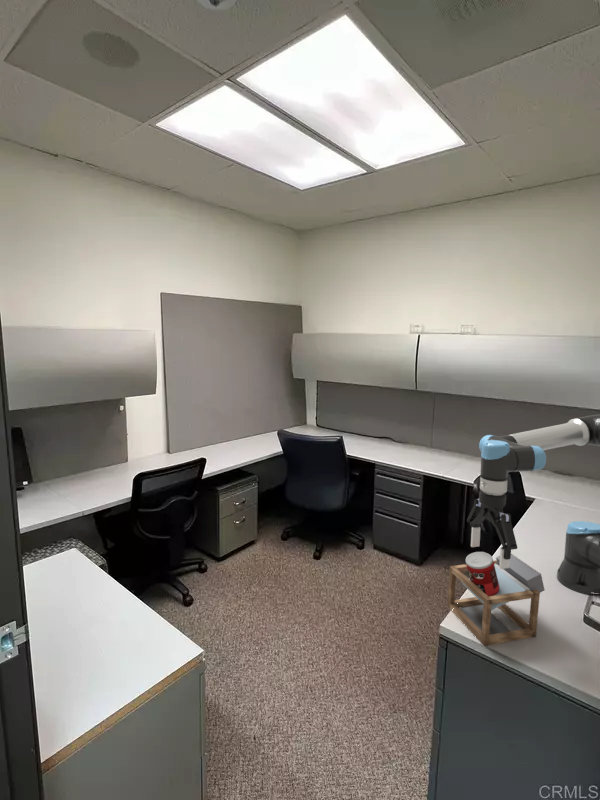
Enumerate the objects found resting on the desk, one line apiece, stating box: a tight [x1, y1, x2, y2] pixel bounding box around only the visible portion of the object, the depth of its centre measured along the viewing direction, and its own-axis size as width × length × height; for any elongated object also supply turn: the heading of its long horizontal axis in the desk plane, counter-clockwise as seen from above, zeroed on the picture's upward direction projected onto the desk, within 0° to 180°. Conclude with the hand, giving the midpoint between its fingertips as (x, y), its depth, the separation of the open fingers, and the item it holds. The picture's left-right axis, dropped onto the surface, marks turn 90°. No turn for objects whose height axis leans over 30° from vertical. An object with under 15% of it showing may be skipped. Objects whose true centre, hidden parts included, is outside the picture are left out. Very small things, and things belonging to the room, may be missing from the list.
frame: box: [447, 560, 541, 646], centre depth 133 cm, size 18×19×14 cm
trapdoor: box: [460, 553, 546, 612], centre depth 133 cm, size 19×15×6 cm
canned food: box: [465, 551, 499, 596], centre depth 131 cm, size 8×8×11 cm
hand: (488, 556), depth 131 cm, fingers open, 13 cm apart
